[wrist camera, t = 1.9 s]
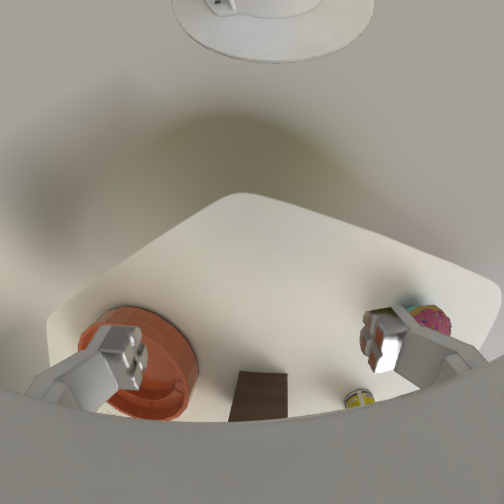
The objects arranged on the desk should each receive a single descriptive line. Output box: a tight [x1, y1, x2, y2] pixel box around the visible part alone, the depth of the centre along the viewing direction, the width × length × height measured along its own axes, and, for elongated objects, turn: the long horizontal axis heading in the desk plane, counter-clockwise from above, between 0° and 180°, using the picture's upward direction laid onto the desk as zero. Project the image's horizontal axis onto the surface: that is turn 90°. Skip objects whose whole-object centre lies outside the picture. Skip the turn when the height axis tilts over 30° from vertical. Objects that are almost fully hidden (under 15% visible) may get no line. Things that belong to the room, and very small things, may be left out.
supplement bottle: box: [345, 390, 375, 409], centre depth 35 cm, size 5×5×8 cm
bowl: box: [78, 307, 199, 421], centre depth 38 cm, size 18×18×6 cm
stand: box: [228, 371, 288, 422], centre depth 28 cm, size 8×7×26 cm
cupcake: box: [406, 305, 452, 336], centre depth 29 cm, size 9×8×12 cm
